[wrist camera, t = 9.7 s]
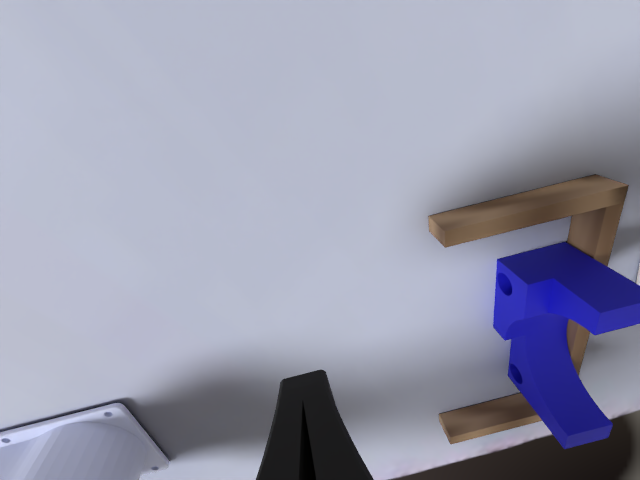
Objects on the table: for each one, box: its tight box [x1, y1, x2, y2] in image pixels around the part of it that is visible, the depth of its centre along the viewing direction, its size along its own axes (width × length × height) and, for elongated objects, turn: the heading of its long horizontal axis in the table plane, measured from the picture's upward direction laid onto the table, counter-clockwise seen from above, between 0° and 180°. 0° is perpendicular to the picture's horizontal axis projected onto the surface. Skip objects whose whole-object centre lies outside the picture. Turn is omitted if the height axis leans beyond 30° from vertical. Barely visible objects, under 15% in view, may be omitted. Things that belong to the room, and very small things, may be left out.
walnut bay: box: [428, 174, 629, 444], centre depth 23 cm, size 10×20×2 cm, turn 12°
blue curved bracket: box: [493, 242, 640, 449], centre depth 21 cm, size 12×4×6 cm, turn 12°
